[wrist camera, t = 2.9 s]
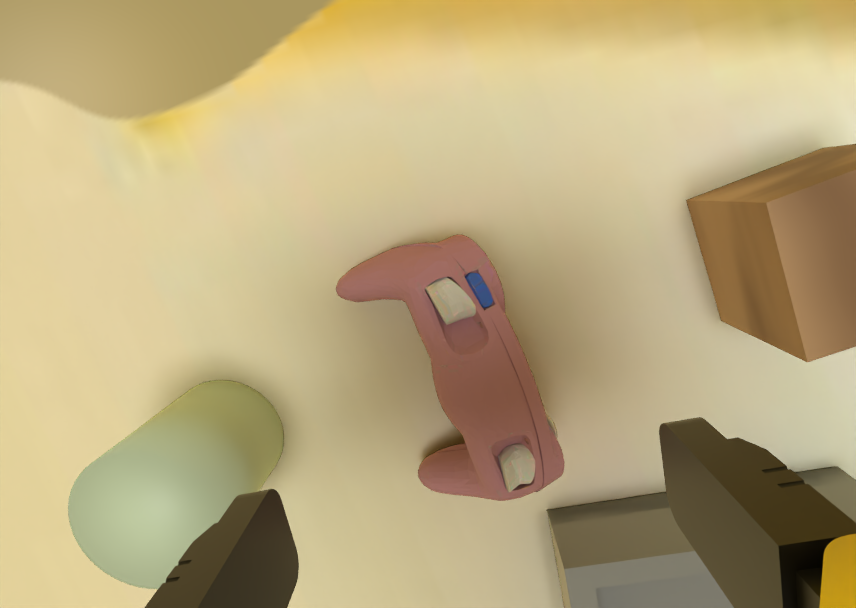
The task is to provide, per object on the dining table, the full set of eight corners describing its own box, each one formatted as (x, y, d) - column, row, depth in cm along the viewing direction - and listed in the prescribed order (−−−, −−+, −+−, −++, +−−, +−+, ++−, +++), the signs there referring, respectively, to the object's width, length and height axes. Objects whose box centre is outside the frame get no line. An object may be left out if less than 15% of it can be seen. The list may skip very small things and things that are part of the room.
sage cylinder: (266, 370, 21) (194, 438, 15) (296, 476, 22) (240, 578, 16) (156, 391, 22) (45, 464, 16) (191, 493, 23) (98, 598, 17)
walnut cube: (821, 148, 18) (956, 132, 13) (851, 274, 19) (987, 302, 14) (685, 200, 19) (765, 202, 14) (720, 320, 20) (807, 362, 15)
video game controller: (503, 433, 23) (613, 492, 16) (417, 486, 21) (501, 574, 15) (423, 230, 21) (510, 206, 15) (322, 273, 20) (370, 267, 13)
